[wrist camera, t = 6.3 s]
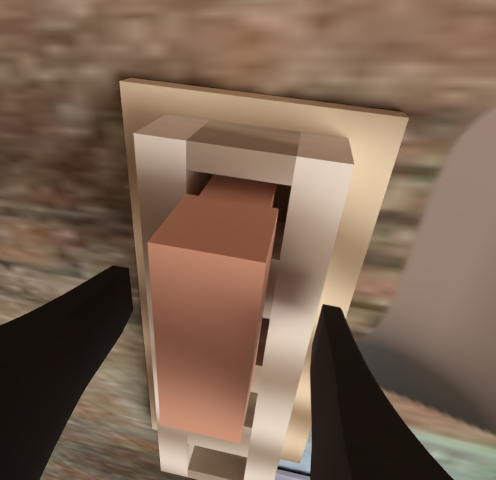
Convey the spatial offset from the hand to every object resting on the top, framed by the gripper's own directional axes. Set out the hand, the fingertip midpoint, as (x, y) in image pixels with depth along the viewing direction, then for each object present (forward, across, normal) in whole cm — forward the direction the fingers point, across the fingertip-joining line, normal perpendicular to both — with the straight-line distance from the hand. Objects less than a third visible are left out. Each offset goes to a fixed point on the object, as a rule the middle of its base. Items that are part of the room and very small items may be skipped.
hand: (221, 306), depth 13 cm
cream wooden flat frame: (+5, 0, +6) cm, 8 cm away
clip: (+4, 0, 0) cm, 4 cm away
